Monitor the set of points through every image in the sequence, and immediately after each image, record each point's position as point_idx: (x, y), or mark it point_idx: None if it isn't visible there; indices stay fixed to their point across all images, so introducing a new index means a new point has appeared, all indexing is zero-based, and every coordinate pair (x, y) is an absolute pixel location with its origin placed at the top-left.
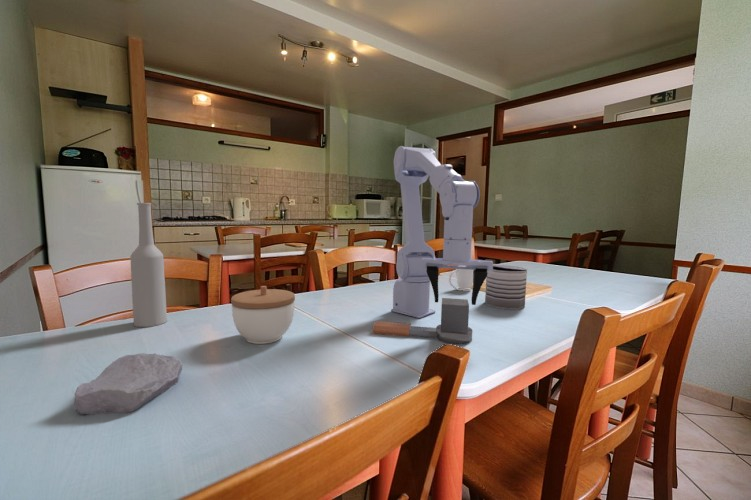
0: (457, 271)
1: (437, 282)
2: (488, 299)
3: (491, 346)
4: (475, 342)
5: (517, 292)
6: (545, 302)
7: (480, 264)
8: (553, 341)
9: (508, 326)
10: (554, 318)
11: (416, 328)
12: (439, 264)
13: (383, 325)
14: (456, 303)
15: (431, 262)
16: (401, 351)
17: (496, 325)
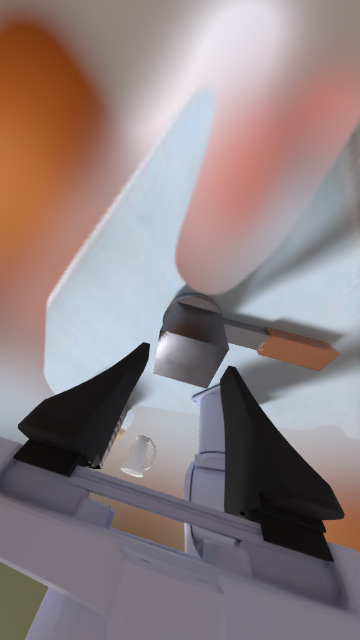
0: (142, 467)
1: (254, 424)
2: (122, 411)
3: (143, 283)
4: (164, 299)
5: None
6: None
7: (4, 512)
8: (61, 300)
9: (111, 350)
10: (61, 365)
11: (253, 339)
12: (255, 560)
13: (317, 351)
14: (186, 350)
15: (342, 623)
16: (319, 258)
17: (125, 354)
